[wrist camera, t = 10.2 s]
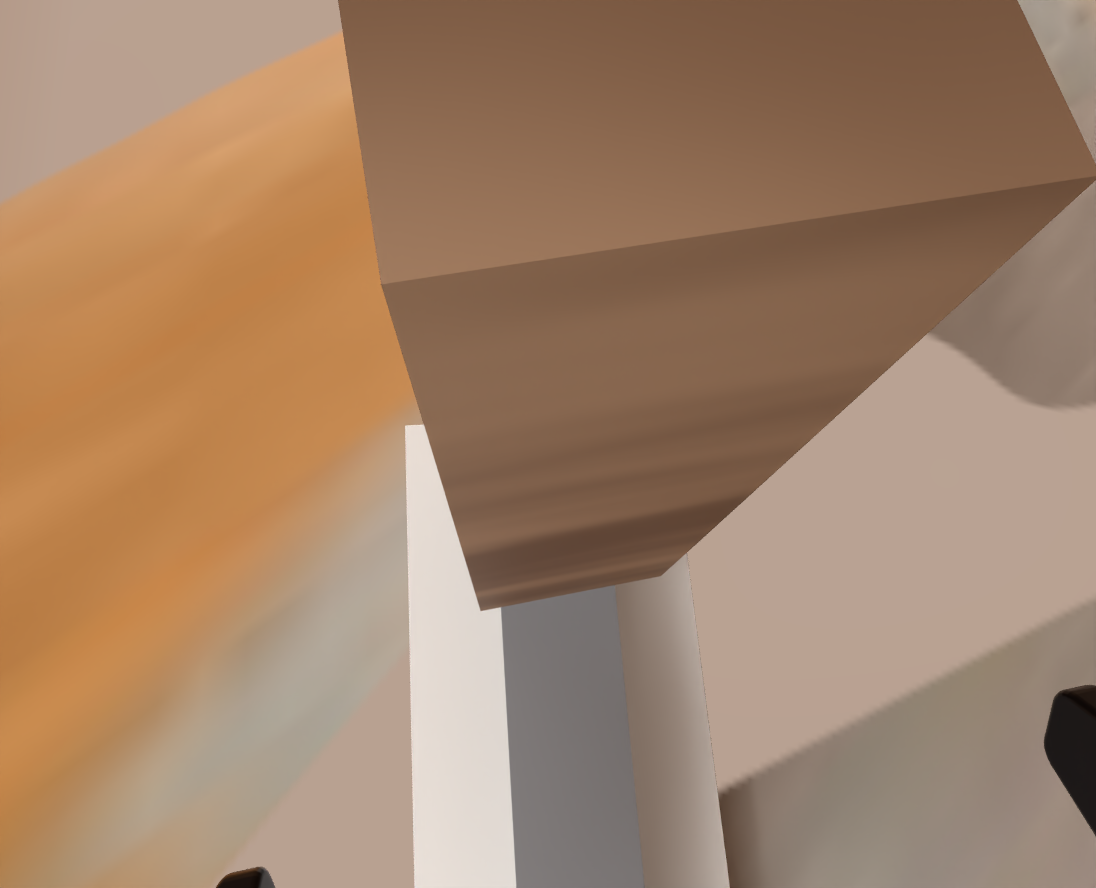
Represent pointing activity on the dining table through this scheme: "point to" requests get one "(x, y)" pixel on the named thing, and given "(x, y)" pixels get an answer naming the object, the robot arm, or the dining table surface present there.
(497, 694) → the board
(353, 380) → the dining table surface
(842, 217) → the walnut baton
